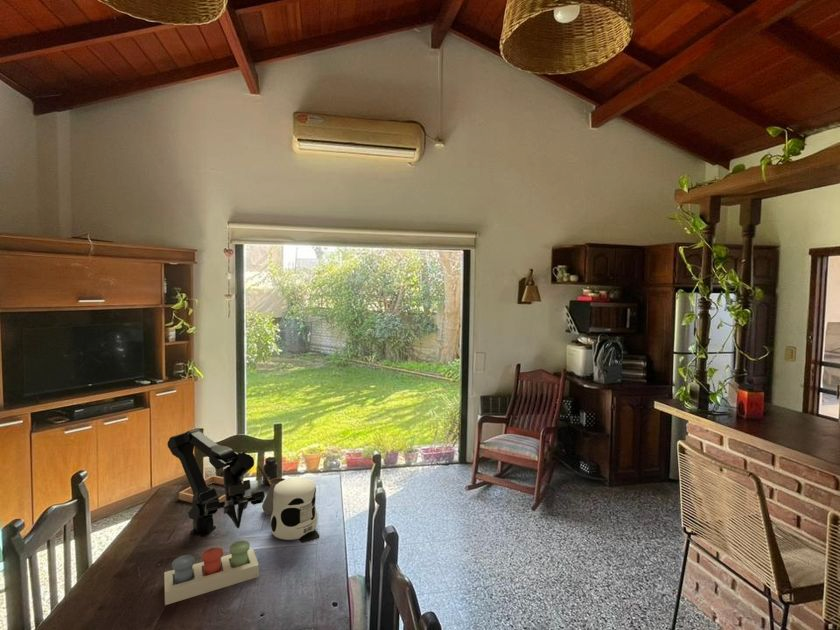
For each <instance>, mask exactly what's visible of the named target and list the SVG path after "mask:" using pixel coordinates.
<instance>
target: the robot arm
mask: <svg viewBox="0 0 840 630" xmlns="http://www.w3.org/2000/svg"><path fill="white" fill-rule="evenodd" d="M166 445H167V448H168V449H169V450H170V453H171V454H172V456H174V457H176V458H177V459H178V460H179V461H180V463H181V466H182V469H183V471H184V474H185V476H186V478H187V481H188V484H189V485H190V486H189V487H191V488H192V491H193V493H192V494H193V500H192V503H191V505H192V507H191V508H190V510H189V511H187V514H188V518H189V519H191V520H192V521H193V526H192V527H193V528H192V529H191V530H190V531H189V533H190V534H192V535H197V536H200V537H204V536H206V535H207V534H209V533H211V532H212V531H213V530H215V529H216V527H217V526H216V525H214V518H213V516H214V515H215V514H216V513H217V512H218V510H221V509H223V515H225V514H227V515H228V517H229V518H230V520H231V521H232V522H233V524H234V526H235V528H236V529H239V528H240V527H241V521H242V516H243V513H244V510H245V509H247V508H248V504H249V503H250V504H252V505H253V506H255V505H259V504H263V502H264V500H265V498H266V494H265V491H264V490H263V489H260V490H255V491H251V494H250V495H247V496H245V495H246V491H248V490H251V480H250V479H245V480H243V479H242V477H243V476H245V474H246V473H247V472H249V471H250V470H251V469H252V468H253V467H254V465H255V459H254V457H253V456H251V455H250V454H248V453H245V451H241V452H239V453H238V452H236V451H235V450H234V449H232V448H231V447H229V446H227V445H220V444H218V443H216V442H215V441H214V440H212V439H211V438H209V436H207V435H205V433H203V432H202V431H201V429H200V428H194V429H190V430H187V431H186V432H183V433H179V434H177V435H173V436H171V437H170V438H169V440H168V441H167V444H166ZM195 448H197V449H198V450H199V451H200V452H202V453H203V454H205V456H207V457H208V461H209V463H210V464H211V466H213V468H214V469H215V470H220V469H222V471H221V473H220V474H219V477H223V479H224V485H223V486H224V495H225V497H226V501H224V502H220V503H219V498H220V497H219V495H218V494H217V492H216V489H215V488H214V487H213V488H211V487H210V486H208V485H206V482H205V480H204V479H205V478H204V475H203V473H202V471H201V468H200V466H199V464H198V461H197V459H196V456H195V454H194V453H195V452H194V449H195ZM242 480H243V481H242ZM242 482H243V484H242ZM236 505H237V509H236Z"/></svg>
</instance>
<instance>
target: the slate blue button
mask: <svg viewBox="0 0 840 630" xmlns="http://www.w3.org/2000/svg"><path fill="white" fill-rule="evenodd" d="M195 559H196V558H195V556H194V555H192V554H184V555H180V556H179V557H177V558H175V559H174V560H173V561H172V565H171V566H172V570H175V584H180V583H183V582H187V581H190V580H192V565H193V564H196V563H195V561H196V560H195Z"/></svg>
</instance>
